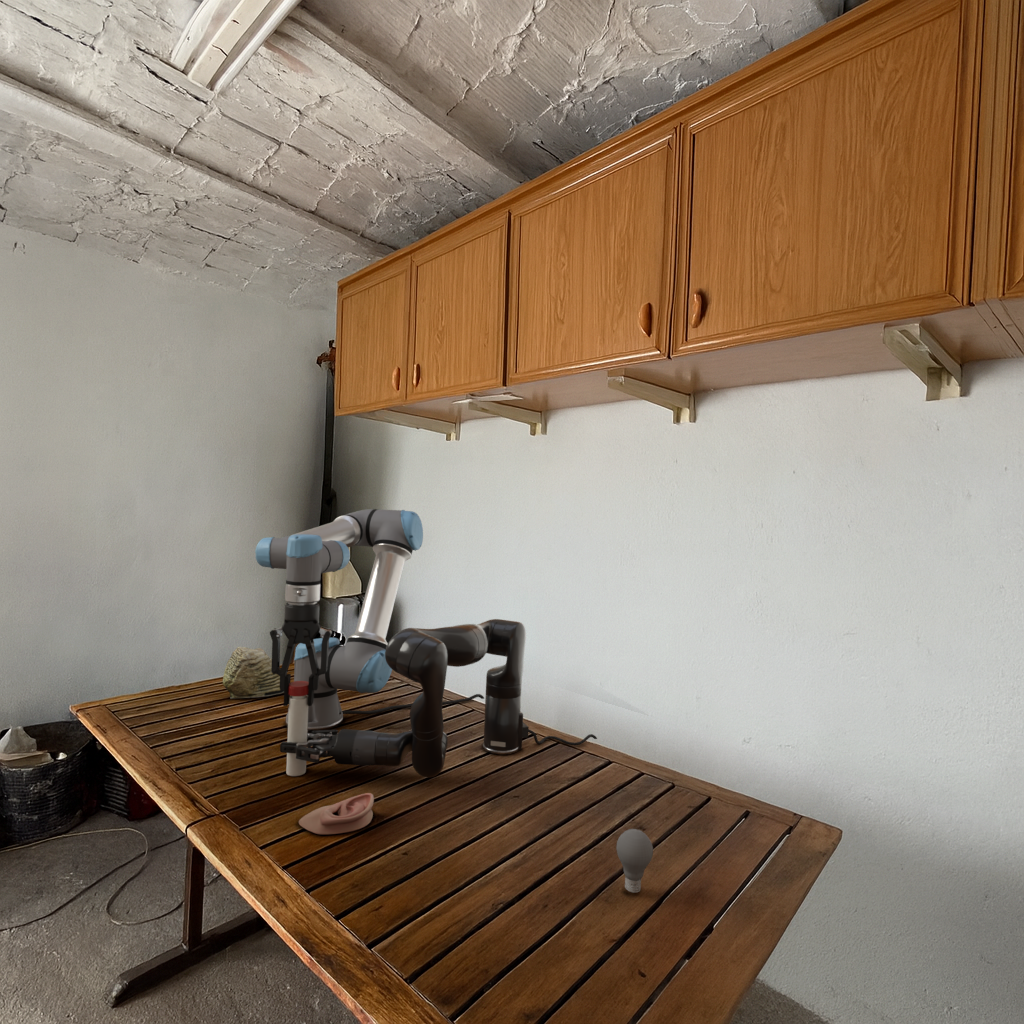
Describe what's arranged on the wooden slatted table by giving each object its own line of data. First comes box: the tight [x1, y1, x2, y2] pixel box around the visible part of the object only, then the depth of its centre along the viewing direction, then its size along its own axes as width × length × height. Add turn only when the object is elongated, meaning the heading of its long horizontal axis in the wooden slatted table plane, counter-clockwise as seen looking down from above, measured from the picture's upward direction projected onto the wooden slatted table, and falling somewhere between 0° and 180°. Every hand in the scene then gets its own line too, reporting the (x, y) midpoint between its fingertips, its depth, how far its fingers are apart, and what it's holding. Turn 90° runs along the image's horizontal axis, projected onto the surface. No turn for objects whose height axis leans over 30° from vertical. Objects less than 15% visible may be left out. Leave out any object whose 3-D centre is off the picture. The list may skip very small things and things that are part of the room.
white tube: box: [285, 695, 308, 777], centre depth 145 cm, size 4×4×19 cm
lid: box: [288, 681, 309, 696], centre depth 145 cm, size 5×5×2 cm
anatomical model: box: [298, 792, 375, 835], centre depth 124 cm, size 13×4×12 cm
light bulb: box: [615, 828, 654, 894], centre depth 106 cm, size 6×6×10 cm
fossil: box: [222, 646, 284, 699], centre depth 198 cm, size 9×18×15 cm, turn 132°
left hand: (298, 703), depth 145 cm, fingers closed on lid, 5 cm apart
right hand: (285, 742), depth 145 cm, fingers closed on white tube, 4 cm apart
